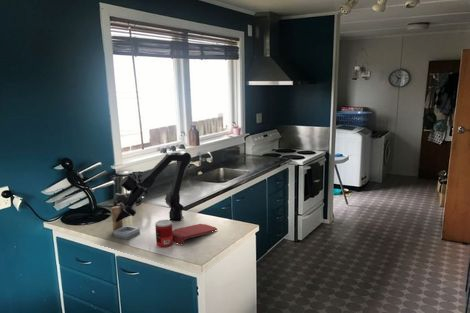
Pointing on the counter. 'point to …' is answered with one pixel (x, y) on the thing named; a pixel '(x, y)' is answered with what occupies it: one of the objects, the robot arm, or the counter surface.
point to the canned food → (164, 233)
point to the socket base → (126, 232)
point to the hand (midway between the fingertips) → (114, 219)
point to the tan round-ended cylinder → (115, 213)
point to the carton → (191, 232)
